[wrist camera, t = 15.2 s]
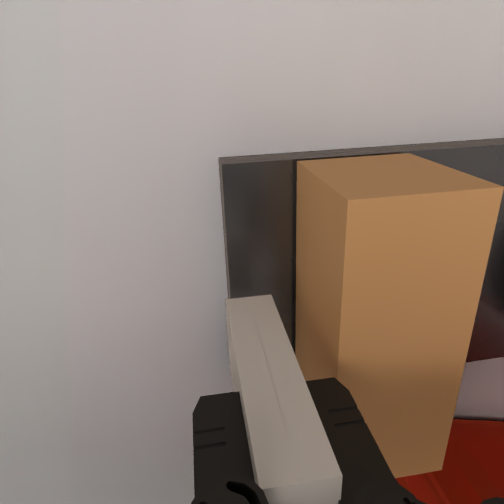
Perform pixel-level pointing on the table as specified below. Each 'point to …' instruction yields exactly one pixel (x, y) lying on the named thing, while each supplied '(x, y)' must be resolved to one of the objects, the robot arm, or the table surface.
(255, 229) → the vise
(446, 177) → the block
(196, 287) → the table surface
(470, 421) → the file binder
